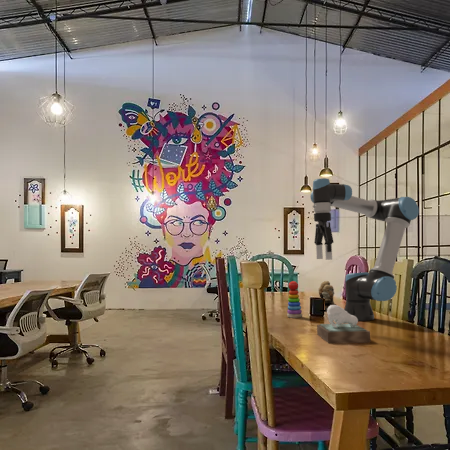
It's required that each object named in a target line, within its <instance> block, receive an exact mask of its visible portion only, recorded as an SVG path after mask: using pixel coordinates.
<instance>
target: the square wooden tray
mask: <svg viewBox="0 0 450 450" xmlns="http://www.w3.org/2000/svg"><path fill="white" fill-rule="evenodd" d="M335 324H336V323H335ZM336 326H337V328H334V327H332V325H331V324H330V323H320V324H317V325H316V334H317V335H318V337H320V338H321V339H323V341H325V343H327V344H343V343H344V344H346V343H348V344H351V343H352V344H353V343H354V344H355V343H371V330H370V331H369V330H368V329H365V328H363V327H362V326H360V325H357V324H356V325H355V327H351V326H350V324H349V323H342V324H339V325H338V324H336Z"/></svg>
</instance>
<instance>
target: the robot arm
mask: <svg viewBox="0 0 450 450" xmlns="http://www.w3.org/2000/svg"><path fill="white" fill-rule="evenodd" d="M330 181H331V180H330V179H329V178H316V179H314V180H313V182H312V191H311V193H310V201H311V202H312V203H313V205H312V208H313V212H314V214H313V221H314V222H317V223H316V224H315V233H314V235H315V236H314V244H315V245H316V246H315V247H316V248H315V251H316V253H315V254H316V260H323V256H324V255H323V244H324V251H325V252H324V253H325V260H328V261H329V260H330V261H331V260H333V246H332V245H333V244H334V237H333V233H332V227H331V220H332V213H331V211H332V210H331V209H332V207H334V208H338V209H342V210H347V211H349V212H354V213H358V214H362V215H364V216H365V217H366V218H370V219H374V220H377V221H380V222H385V223H386V225H385V226H386V227H385V229H384V233H383V237H382V240H381V243H380V246H379V250H378V253H377V257H376V259H375V262H374V266H373V267H372V268H370V269H369V271H368V272H365V271H364V272H353V273H348V274H346V275H345V281H344V283H345V305H344V308H343V309H344V310H345V311H347V312H348V313H349V314H350V315H354V316H356V317H357V319H358V322H359V321H363V322H364V321H365V322H367V321H373V320H375V312H374V310H373V308H372V305H371V300H373V301H377V302H387V301H390V300H391V299H393V298H394V296H396V293H397V291H398V290H397V289H398V288H397V286H398V285H397V282H396V280H395V275H394V274H393V272H394V267H395V264H396V261H397V257H398V255H399V251H400V247H401V244H402V240H403V237H404V233H405V230H406V229H407V228H409V227H410V225H411V221H413V220H415V219H417V218H418V216H419V212H420V209H419V206H418V203H417V201H416V200H415V199H414V198H413V197H411V196H401V197H396V198H390V199H389V198H387V199H382V200H375V199H369V200H368V199H365V198H360V197H357V196H354V195H353V188H352V187H351V185H349V184H344V183H341V184H340V183H339V184H338V183H330ZM323 239H324V243H323Z"/></svg>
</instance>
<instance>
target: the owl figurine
mask: <svg viewBox="0 0 450 450" xmlns="http://www.w3.org/2000/svg"><path fill="white" fill-rule="evenodd" d="M334 290H335V288H334V287H333V285H331V282H330V281H328V280H325V281H322V282H321V284H320V286H319V288H318V296H319V298H320V299H321V298H324V299H325V311H324V312H327V309H328V307H329V306H330V305H337V304H336V303H335V302H334V295H335V291H334Z"/></svg>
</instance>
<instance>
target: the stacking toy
mask: <svg viewBox="0 0 450 450" xmlns="http://www.w3.org/2000/svg"><path fill="white" fill-rule="evenodd" d="M298 288H299V284H298V282H297V281H296V280H295V281H294V280H292V281H290V282H289V283H288V289H289V291H288V298H287V299H288V302H287V314H286V316H287V318H291V319H299V318H302V317H303V314H302V312H303V311H302V306H301V305H302V303H301V302H300V299H301V298H299V297H300V295H299V290H298Z"/></svg>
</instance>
